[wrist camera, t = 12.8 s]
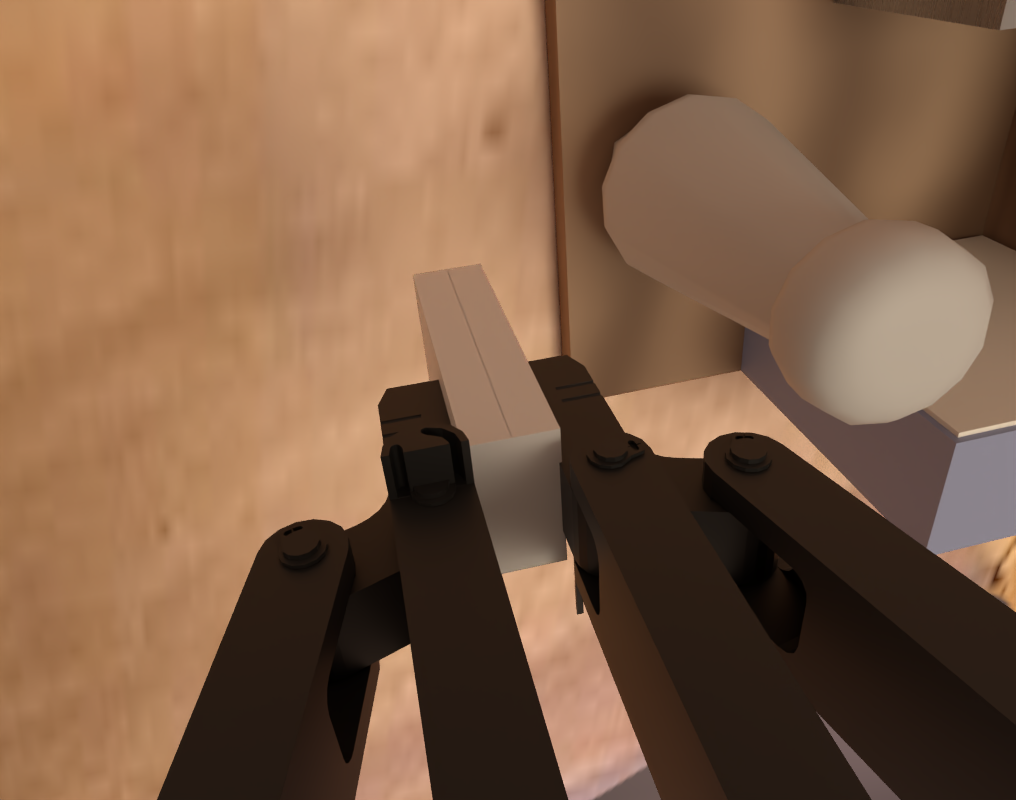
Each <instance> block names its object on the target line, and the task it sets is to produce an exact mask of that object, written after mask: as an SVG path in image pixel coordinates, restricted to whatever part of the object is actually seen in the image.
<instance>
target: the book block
mask: <svg viewBox="0 0 1016 800" xmlns="http://www.w3.org/2000/svg"><path fill="white" fill-rule="evenodd" d="M953 241H955V242H956V243H958V244H959V245H960V246H962V247H963V248H965V249H966V250H967V251H968V252H970V253H971V254H972V255H973V256H974V257H975V258H977V259H978V260H979V261H980V262H981V263H983V264H984V265H985V267H986V271H987V275H988V279H989V283H990V287H991V291H992V295H993V299H994V301H993V306H992V310H991V315H990V319H989V324H988V328H987V332H986V337H985V341H984V346H983V348H982V350H981V351H980V353H979V354H978V356H977V357H976V359H975V360H974V362H973V363H972V365H971V366H970V368H969V369H968V371H967V372H966V374H965V375H964V377H963V378H962V380H960V381H959V382H958V383H957V384H956V385H955V386H953V387H952V388H951V389H950V390H949V391H948V392H947V393H945V394H944V395H943V396H942V397H941V398H940V399H938V400H937V401H936V402H935V403H934V404H933V405H931V406H929V407H926V408H924V409H922V410H919V411H917V412H915V413H912V414H910V415H908V416H905V417H903V418H901V419H898V420H895V421H892V422H888V423H879V424H863V425H849V424H847V423H845V422H843V421H841V420H839V419H837V418H835V417H834V416H832V415H830V414H828V413H826V412H824V411H822V410H821V409H819V408H817V407H815V406H814V405H812V404H810V403H809V402H807V401H805V400H804V399H802V398H801V397H800V396H799V395H798V394H797V393H796V392H795V391H794V390H793V389H792V387H791V386H790V385H789V384H788V383H787V382H786V380H785V378H784V376H783V374H782V372H781V370H780V368H779V366H778V365H777V363H776V361H775V359H774V357H773V355H772V353H771V350H770V347H769V339H767V338H765V337H763V336H761V335H760V334H758V333H756V332H754V331H752V330H750V329H748V328H746V327H745V332H744V343H743V353H742V364H741V371H742V372H743V373H744V374H745V375H746V376H747V377H748V378H749V379H750V380H751V381H752V382H753V383H754V384H755V385H756V386H757V387H758V388H759V389H760V390H761V391H762V392H763V393H764V394H765V395H766V396H767V397H768V398H769V399H770V401H771V402H772V403H773V404H774V405H775V406H776V407H777V408H778V409H779V410H780V411H781V412H782V413H783V414H784V415H785V416H786V417H787V418H788V419H789V420H790V421H791V422H792V423H793V424H794V425H795V426H796V427H797V428H798V429H799V430H800V431H801V432H802V433H803V434H804V435H805V436H806V437H807V438H808V439H809V440H810V441H811V442H812V443H813V444H814V446H815V447H816V448H817V449H818V450H819V451H820V452H821V453H822V454H823V455H824V456H825V457H826V458H827V459H828V460H829V461H830V462H831V463H832V464H833V465H834V466H835V467H836V468H837V469H838V470H839V471H840V472H841V473H842V474H843V475H844V476H845V477H846V478H847V479H848V480H849V481H850V482H851V483H852V484H853V485H854V486H855V487H856V488H857V489H858V490H859V492H860V493H861V494H862V495H863V496H864V497H865V498H866V499H867V500H868V501H869V502H870V503H871V504H872V505H873V506H874V507H875V508H876V509H877V510H878V511H879V512H880V513H881V514H882V515H883V516H884V517H885V518H886V519H887V520H888V521H890V522H891V523H892V524H894V525H895V526H896V527H898V528H899V529H901V530H902V531H903V532H905V533H906V534H908V535H909V536H910V537H912V538H913V539H915V540H916V541H917V542H919V543H920V544H921V545H923V546H924V547H926V548H927V549H928V550H930V551H931V552H933V553H934V554H935V555H936V554H941V553H945V552H949V551H953V550H957V549H961V548H965V547H969V546H973V545H977V544H981V543H986V542H990V541H994V540H998V539H1002V538H1006V537H1010V536H1014V535H1016V251H1015V250H1013V249H1011V248H1008V247H1006V246H1004V245H1002V244H1000V243H998V242H996V241H993V240H991V239H989V238H987V237H985V236H983V235H981V236H975V237H970V238H964V239H958V240H953Z"/></svg>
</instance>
